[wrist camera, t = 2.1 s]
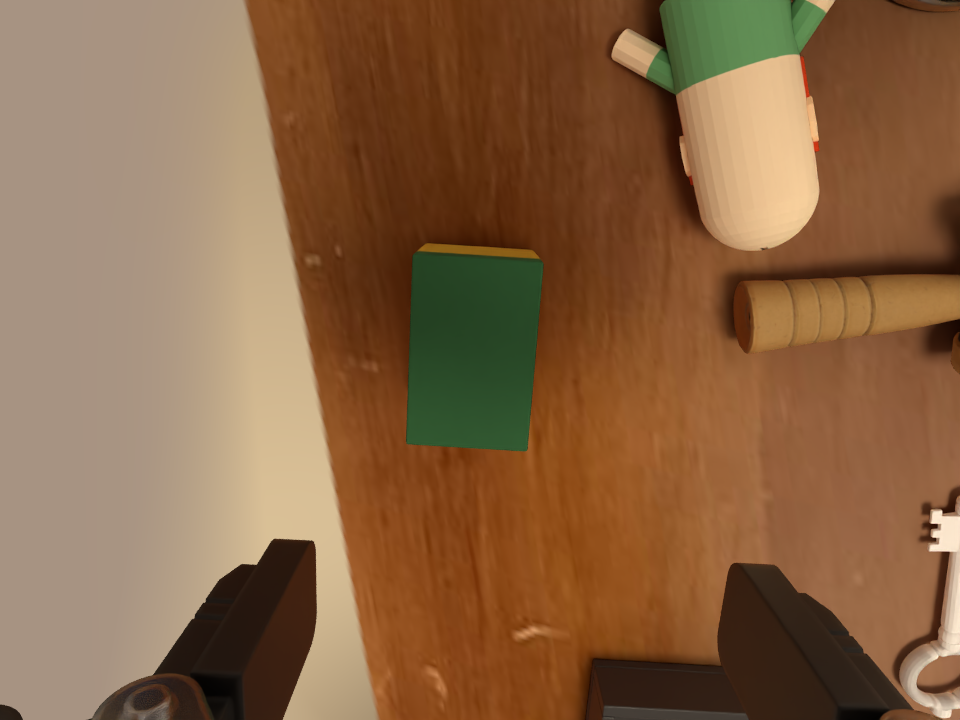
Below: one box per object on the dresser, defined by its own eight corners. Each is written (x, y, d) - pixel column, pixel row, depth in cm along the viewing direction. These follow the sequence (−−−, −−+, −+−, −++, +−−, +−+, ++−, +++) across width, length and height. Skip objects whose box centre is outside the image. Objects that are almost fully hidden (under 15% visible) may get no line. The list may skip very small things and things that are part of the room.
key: (891, 709, 32) (977, 705, 32) (902, 723, 31) (991, 720, 31) (914, 491, 29) (1009, 486, 29) (928, 501, 28) (1026, 496, 28)
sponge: (425, 242, 26) (412, 253, 21) (533, 249, 26) (543, 261, 21) (419, 402, 28) (405, 444, 23) (520, 408, 28) (527, 452, 23)
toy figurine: (608, -27, 25) (667, 262, 28) (573, -59, 22) (645, 280, 24) (838, -132, 21) (887, 216, 24) (846, -195, 18) (903, 228, 20)
